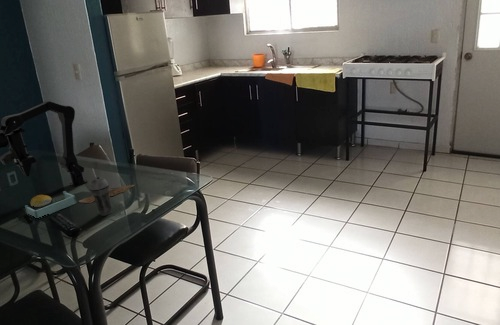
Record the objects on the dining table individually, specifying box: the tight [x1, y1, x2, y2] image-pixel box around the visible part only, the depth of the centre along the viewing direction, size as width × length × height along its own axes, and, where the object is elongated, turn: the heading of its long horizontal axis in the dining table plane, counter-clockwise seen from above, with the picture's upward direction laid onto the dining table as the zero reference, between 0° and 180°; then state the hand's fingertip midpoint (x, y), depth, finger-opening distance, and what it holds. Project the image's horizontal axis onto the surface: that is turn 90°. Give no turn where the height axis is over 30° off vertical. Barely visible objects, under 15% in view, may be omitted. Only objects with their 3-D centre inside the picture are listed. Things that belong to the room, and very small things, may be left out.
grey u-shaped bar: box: [24, 190, 78, 219], centre depth 178 cm, size 10×18×4 cm, turn 138°
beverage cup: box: [89, 167, 112, 217], centre depth 164 cm, size 7×7×20 cm
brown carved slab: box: [77, 184, 135, 204], centre depth 188 cm, size 26×11×1 cm, turn 121°
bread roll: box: [30, 194, 52, 208], centre depth 186 cm, size 8×9×4 cm
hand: (27, 176), depth 188 cm, fingers closed
